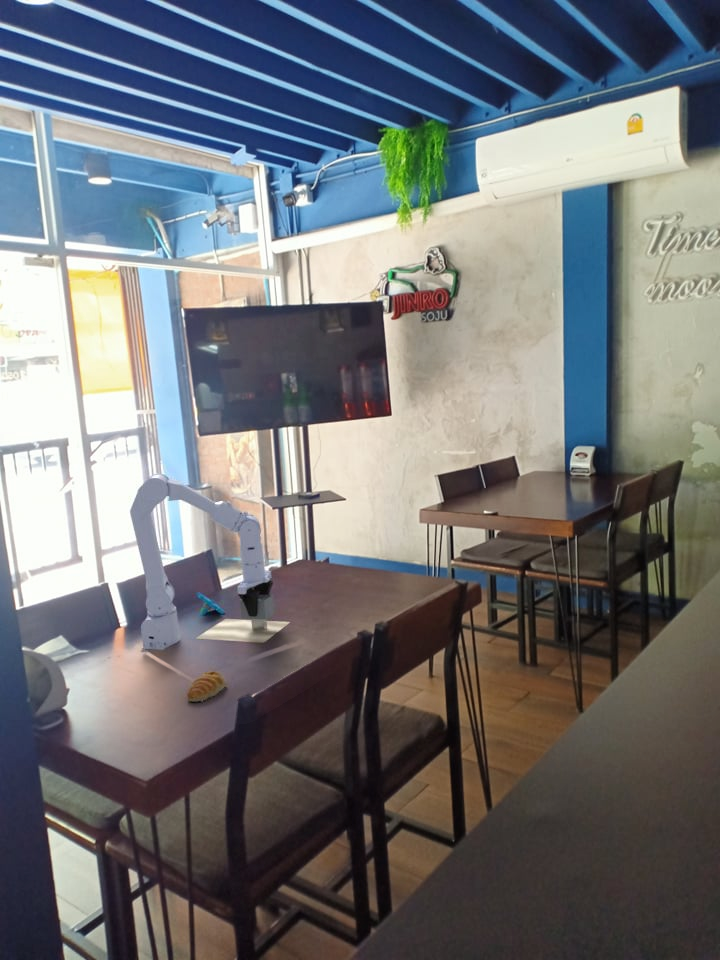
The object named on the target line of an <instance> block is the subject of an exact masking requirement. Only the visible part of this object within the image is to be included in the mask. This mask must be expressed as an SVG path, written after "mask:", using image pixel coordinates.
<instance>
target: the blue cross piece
mask: <svg viewBox="0 0 720 960" xmlns="http://www.w3.org/2000/svg"><path fill="white" fill-rule="evenodd" d="M195 595H196V597H198V598H199V599H200V600H202V602H204V604H203V607H202V608H201V610H200V612H199V614H200V615H199V616H201V617H202V616H205V615H206V614H207V613H208V611H211V609H215V611H217V612H218V613H219V614H221V615H224V614H226V612H225V610H223V608H221V607H220V606H219V605H217V603H216V602H215V601H214V599H210V598H209V597H207V596H206V595H204V594H202V593H201V592H197V593H196V594H195Z"/></svg>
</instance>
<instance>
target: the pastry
mask: <svg viewBox="0 0 720 960" xmlns="http://www.w3.org/2000/svg"><path fill="white" fill-rule="evenodd" d="M227 684H228V682H227V680H225V677H224V676H222V673H220V672H219V671H217V670H216V671H215V670H210V671H206V672H204V674H202V675H201V676H200V677H198V678H196V679H194V681H193V682H192V684H191V685H190V687H189V689H188V691H187V694H186V697H187V700H188V702H198V701H201V702H203V701H202V700H204V699H206V698H209V697H211V696H213V695H215V694H216V695H218V694H219V693H220V692H219V691H220V690H222V689H223V688H224V687H225V688H227V687H226V686H227ZM225 688H224V689H225ZM224 689H223V690H224ZM223 690H222V691H223ZM218 692H219V693H218ZM217 693H218V694H217ZM216 695H215V696H216ZM211 698H212V697H211ZM209 699H210V698H209ZM206 700H207V699H206Z"/></svg>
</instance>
